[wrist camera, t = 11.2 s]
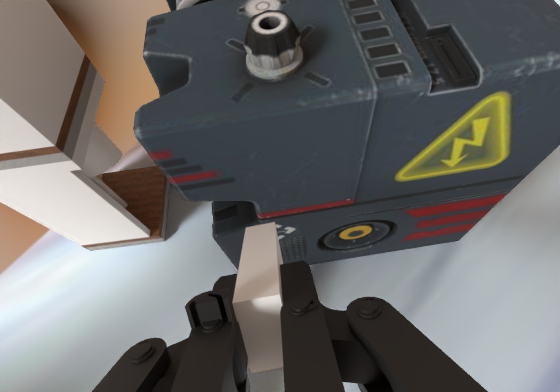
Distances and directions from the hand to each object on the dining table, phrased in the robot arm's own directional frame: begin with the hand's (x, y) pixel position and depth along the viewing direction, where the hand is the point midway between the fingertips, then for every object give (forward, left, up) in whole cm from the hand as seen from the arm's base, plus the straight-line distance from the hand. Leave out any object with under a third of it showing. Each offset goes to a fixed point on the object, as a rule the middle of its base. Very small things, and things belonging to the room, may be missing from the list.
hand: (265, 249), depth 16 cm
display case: (-27, +9, -24) cm, 37 cm away
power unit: (-1, +21, -24) cm, 32 cm away
